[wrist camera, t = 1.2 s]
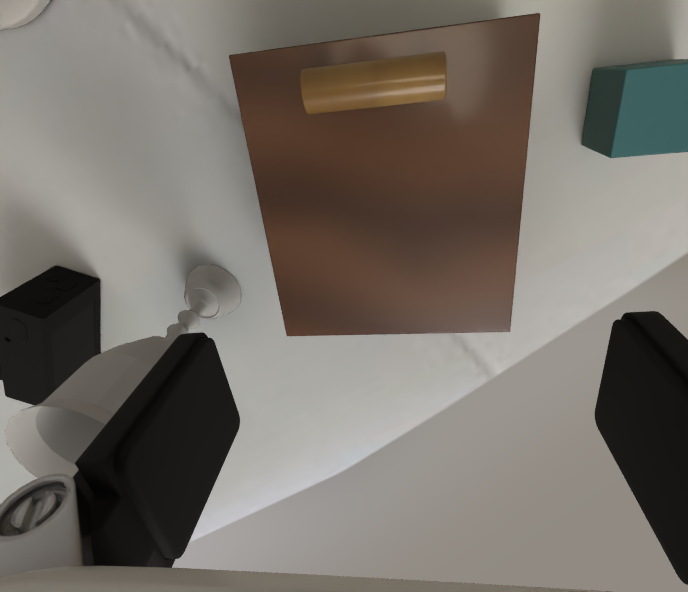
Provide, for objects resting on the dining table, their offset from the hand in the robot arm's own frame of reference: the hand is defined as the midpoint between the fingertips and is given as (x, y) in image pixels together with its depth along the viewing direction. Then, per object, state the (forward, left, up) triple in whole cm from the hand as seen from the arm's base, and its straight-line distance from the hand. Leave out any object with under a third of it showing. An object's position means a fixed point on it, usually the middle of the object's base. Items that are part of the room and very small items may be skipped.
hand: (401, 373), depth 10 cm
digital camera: (+11, -32, -23) cm, 41 cm away
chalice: (+9, -17, -23) cm, 30 cm away
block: (-3, +14, -23) cm, 27 cm away
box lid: (+1, -1, -16) cm, 16 cm away
